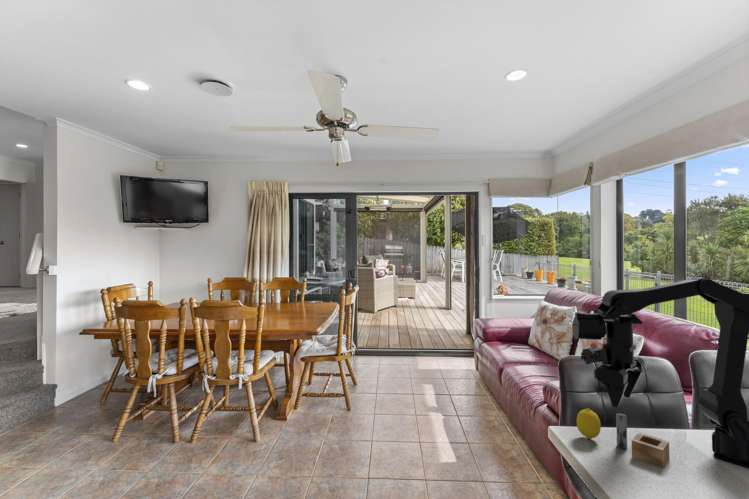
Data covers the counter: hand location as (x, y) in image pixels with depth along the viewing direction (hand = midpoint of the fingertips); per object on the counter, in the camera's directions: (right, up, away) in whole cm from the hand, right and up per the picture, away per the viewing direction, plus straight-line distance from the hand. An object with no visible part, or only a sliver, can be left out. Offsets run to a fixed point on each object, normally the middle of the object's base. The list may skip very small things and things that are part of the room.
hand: (621, 402), depth 91 cm
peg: (0, -11, 0) cm, 11 cm away
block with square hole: (+3, -11, -5) cm, 13 cm away
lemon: (-6, -12, +4) cm, 14 cm away
